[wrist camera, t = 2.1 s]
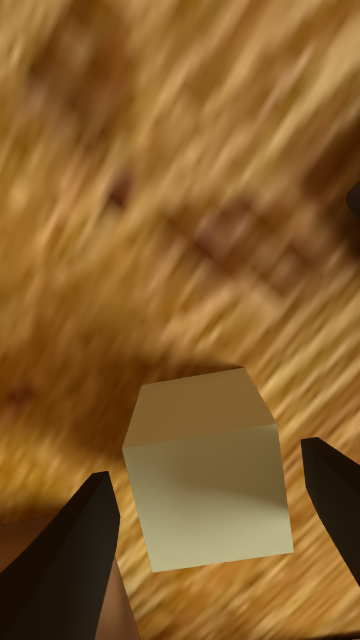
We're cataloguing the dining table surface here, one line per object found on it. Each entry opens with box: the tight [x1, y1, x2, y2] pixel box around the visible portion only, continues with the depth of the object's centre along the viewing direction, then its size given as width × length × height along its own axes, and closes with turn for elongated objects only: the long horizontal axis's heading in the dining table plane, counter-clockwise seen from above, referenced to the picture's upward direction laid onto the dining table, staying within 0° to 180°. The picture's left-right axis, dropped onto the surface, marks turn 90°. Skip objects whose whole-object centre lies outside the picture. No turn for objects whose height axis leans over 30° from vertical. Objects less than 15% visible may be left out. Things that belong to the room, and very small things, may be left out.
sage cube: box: [122, 368, 294, 572], centre depth 12 cm, size 5×5×5 cm
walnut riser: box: [0, 515, 141, 640], centre depth 15 cm, size 10×10×4 cm
